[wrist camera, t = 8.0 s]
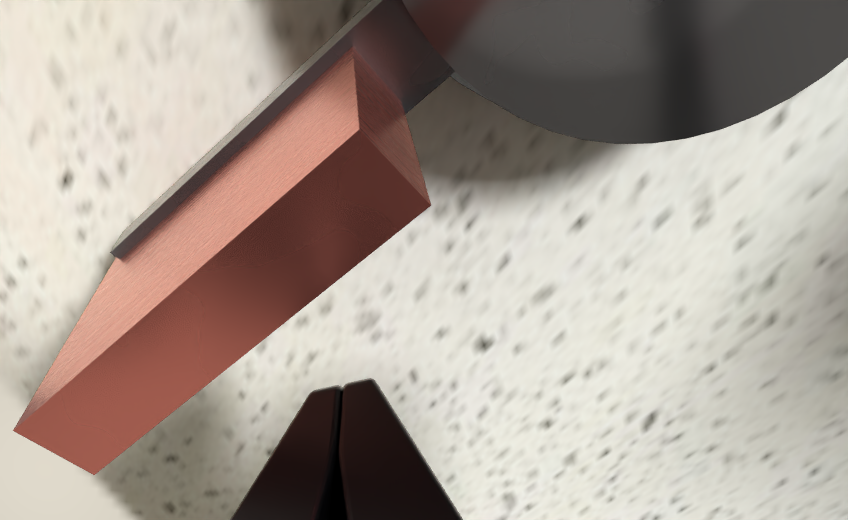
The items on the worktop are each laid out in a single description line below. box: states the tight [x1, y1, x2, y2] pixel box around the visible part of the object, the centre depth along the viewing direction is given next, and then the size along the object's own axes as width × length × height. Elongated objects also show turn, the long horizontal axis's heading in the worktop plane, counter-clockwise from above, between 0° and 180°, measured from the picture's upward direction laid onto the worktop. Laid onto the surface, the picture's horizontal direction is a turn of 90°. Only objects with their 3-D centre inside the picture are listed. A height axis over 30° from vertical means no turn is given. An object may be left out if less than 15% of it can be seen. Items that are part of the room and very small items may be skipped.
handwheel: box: [13, 0, 848, 475], centre depth 9 cm, size 16×9×5 cm, turn 129°
